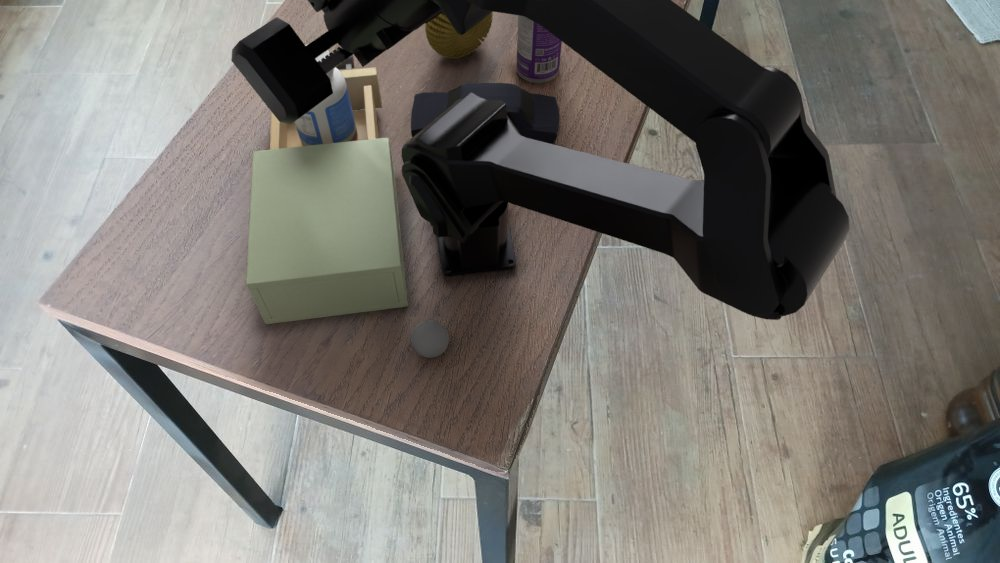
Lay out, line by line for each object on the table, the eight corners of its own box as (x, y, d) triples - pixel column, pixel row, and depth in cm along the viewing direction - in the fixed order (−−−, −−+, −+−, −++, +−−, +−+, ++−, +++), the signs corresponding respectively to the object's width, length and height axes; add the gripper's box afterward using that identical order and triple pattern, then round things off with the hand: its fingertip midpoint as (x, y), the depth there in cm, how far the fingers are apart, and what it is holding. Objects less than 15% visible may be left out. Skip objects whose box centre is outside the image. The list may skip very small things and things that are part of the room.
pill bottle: (354, 117, 72) (336, 34, 64) (362, 155, 69) (345, 73, 61) (298, 127, 71) (273, 43, 63) (304, 165, 68) (279, 83, 60)
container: (562, 59, 80) (575, -73, 68) (554, 86, 78) (565, -45, 65) (521, 52, 81) (526, -80, 68) (511, 79, 78) (515, -53, 66)
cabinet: (269, 195, 68) (252, 150, 64) (395, 181, 70) (388, 136, 65) (265, 324, 60) (245, 284, 56) (408, 306, 62) (400, 266, 57)
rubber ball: (451, 361, 59) (449, 343, 56) (414, 366, 58) (411, 348, 56) (447, 330, 60) (445, 310, 58) (411, 334, 60) (408, 315, 57)
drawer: (277, 83, 76) (266, 49, 73) (378, 73, 77) (373, 40, 74) (273, 209, 66) (261, 178, 63) (390, 196, 67) (384, 165, 64)
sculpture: (478, 29, 83) (476, -35, 76) (499, 47, 81) (500, -18, 75) (420, 57, 80) (414, -8, 73) (442, 76, 78) (437, 11, 72)
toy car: (416, 112, 75) (411, 74, 71) (557, 114, 75) (560, 76, 71) (411, 153, 72) (406, 115, 68) (558, 155, 72) (563, 117, 68)
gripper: (420, -185, 49) (334, -81, 62) (202, -67, 41) (155, 25, 54) (509, -36, 53) (411, 32, 66) (327, 99, 45) (255, 148, 58)
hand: (315, 55), depth 61 cm, fingers open, 9 cm apart
